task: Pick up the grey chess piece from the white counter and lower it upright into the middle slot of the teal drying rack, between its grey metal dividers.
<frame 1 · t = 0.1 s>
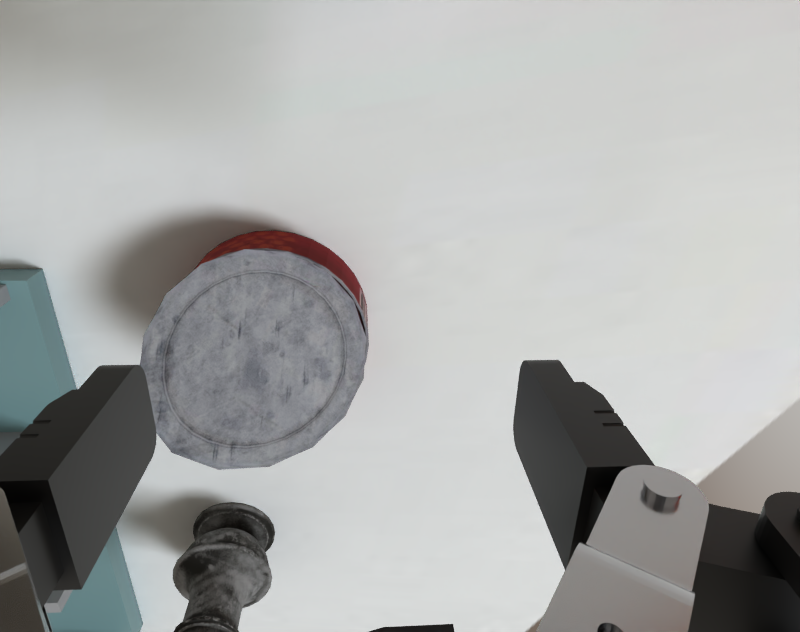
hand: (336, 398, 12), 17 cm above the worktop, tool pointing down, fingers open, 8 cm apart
canned food: (277, 313, 30), on the worktop
grey chess piece: (235, 529, 37), on the worktop
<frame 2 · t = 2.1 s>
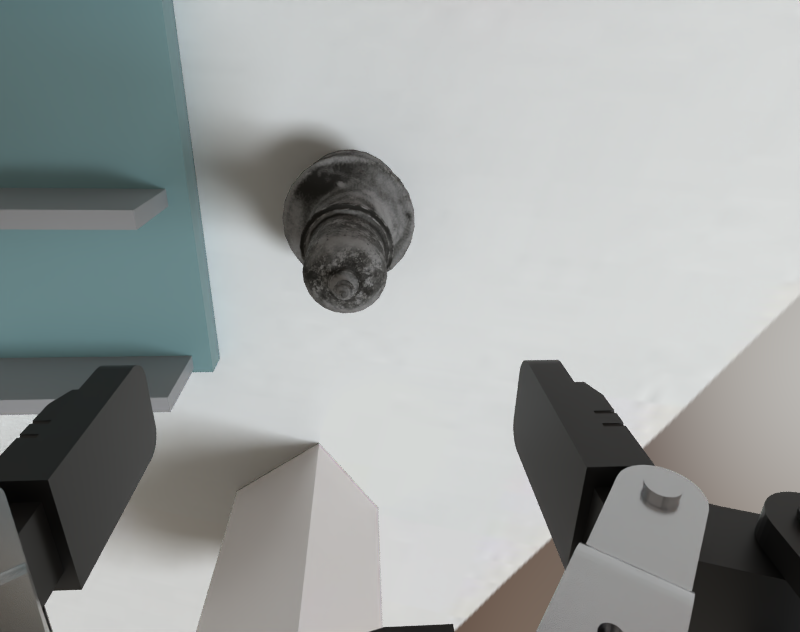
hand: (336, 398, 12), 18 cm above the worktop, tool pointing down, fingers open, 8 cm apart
soap dispenser: (294, 505, 36), on the worktop
rack: (37, 92, 25), on the worktop
grey chess piece: (350, 202, 28), on the worktop
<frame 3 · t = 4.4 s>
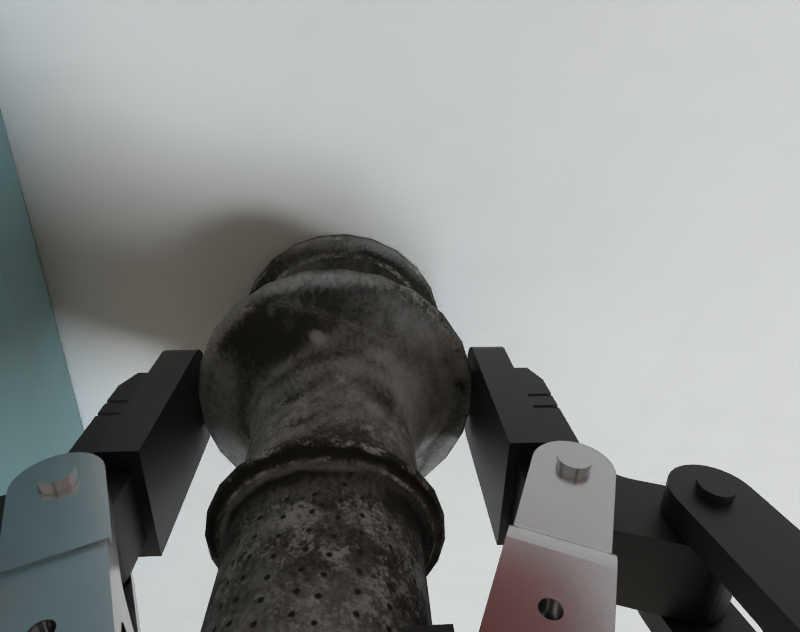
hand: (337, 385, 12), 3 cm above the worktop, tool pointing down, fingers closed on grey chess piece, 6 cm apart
grey chess piece: (343, 325, 15), on the worktop, touching gripper
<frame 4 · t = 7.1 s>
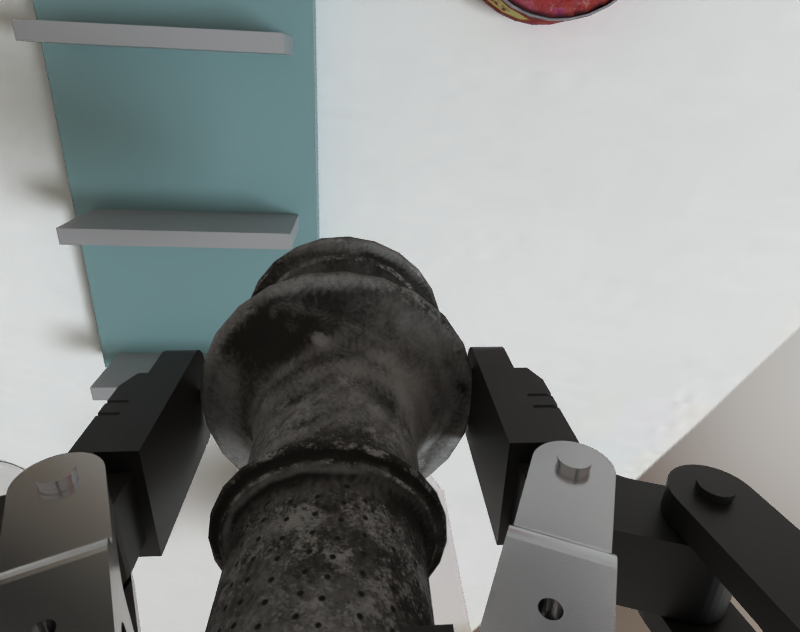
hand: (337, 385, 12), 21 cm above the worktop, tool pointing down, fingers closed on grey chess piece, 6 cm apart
soap dispenser: (370, 488, 41), on the worktop
rack: (197, 132, 30), on the worktop
grey chess piece: (344, 326, 15), point 18 cm above the worktop, touching gripper
beer glass: (3, 492, 39), on the worktop
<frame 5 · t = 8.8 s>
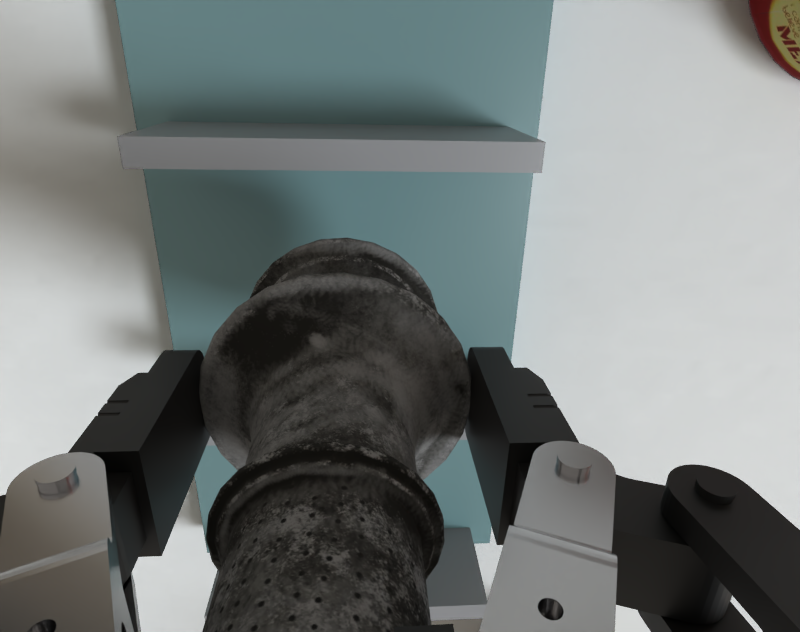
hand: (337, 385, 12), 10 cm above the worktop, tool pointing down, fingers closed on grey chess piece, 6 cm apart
rack: (345, 251, 21), on the worktop
grey chess piece: (343, 327, 15), point 7 cm above the worktop, touching gripper
when the fingers open (6 cm above the worktop, at t = 10.2 s): grey chess piece drops 1 cm, resting on rack.
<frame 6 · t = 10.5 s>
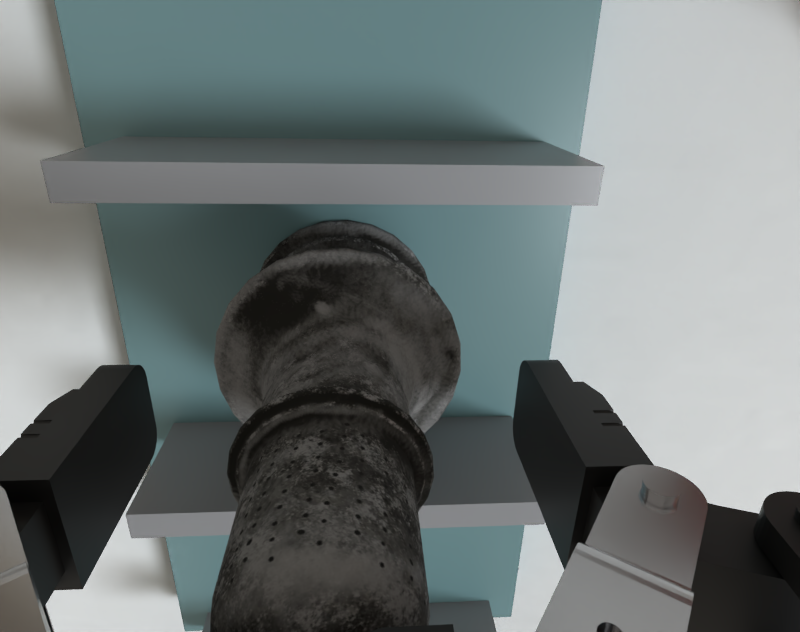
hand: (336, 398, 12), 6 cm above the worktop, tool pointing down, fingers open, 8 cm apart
rack: (344, 288, 18), on the worktop
grey chess piece: (344, 304, 17), point 1 cm above the worktop, touching rack
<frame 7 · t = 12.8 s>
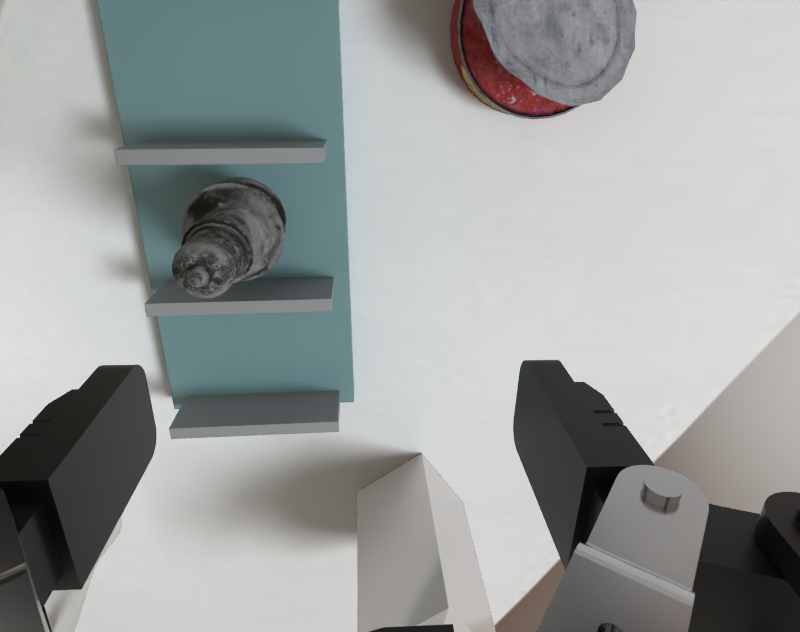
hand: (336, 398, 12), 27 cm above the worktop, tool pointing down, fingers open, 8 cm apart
soap dispenser: (399, 502, 47), on the worktop
rack: (248, 214, 37), on the worktop
canned food: (528, 29, 34), on the worktop
grey chess piece: (244, 218, 35), point 1 cm above the worktop, touching rack
beer glass: (84, 518, 46), on the worktop
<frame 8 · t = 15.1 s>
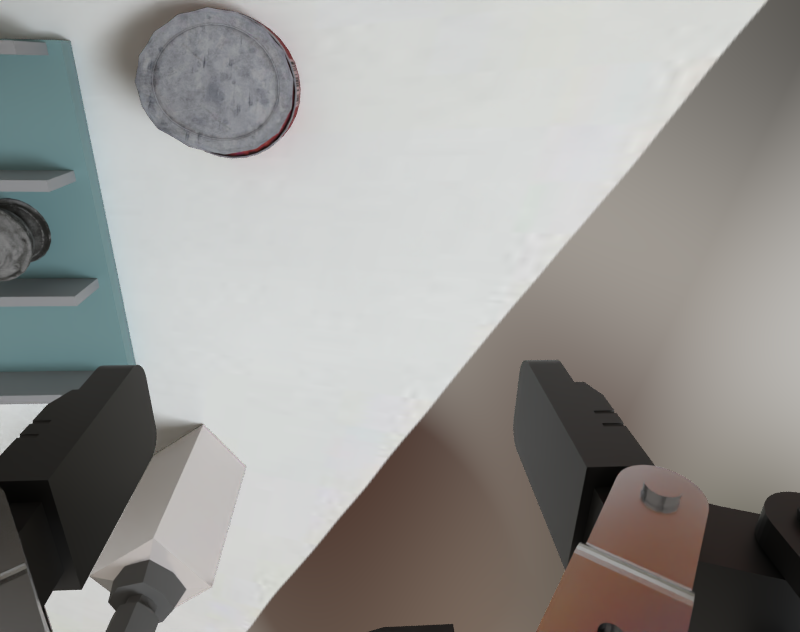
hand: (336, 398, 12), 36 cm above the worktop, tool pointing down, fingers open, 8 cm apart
soap dispenser: (192, 465, 57), on the worktop
rack: (26, 226, 45), on the worktop
canned food: (236, 85, 42), on the worktop
grey chess piece: (17, 230, 44), point 1 cm above the worktop, touching rack
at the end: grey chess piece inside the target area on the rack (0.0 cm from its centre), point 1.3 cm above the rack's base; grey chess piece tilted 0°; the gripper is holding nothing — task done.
